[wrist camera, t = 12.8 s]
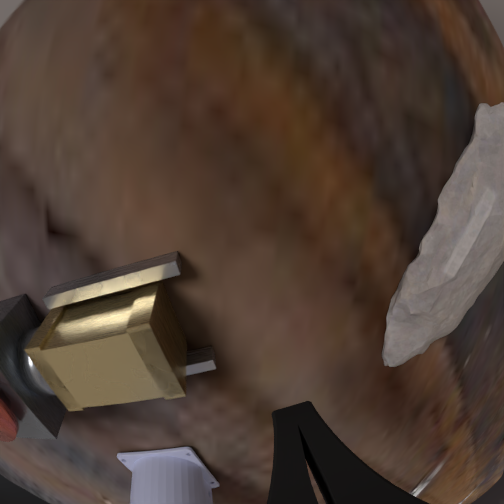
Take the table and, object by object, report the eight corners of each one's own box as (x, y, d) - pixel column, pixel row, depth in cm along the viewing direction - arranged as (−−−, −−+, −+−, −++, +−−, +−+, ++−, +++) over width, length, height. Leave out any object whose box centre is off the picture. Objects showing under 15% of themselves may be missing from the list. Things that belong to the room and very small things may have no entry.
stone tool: (568, 155, 15) (434, 398, 20) (530, 146, 19) (405, 363, 24) (522, 51, 11) (345, 369, 16) (476, 55, 15) (316, 322, 21)
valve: (215, 355, 20) (224, 441, 14) (1, 387, 19) (-27, 443, 12) (177, 249, 17) (164, 321, 11) (-45, 316, 16) (-88, 365, 9)
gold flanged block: (187, 341, 20) (185, 396, 15) (87, 361, 19) (68, 411, 15) (160, 276, 18) (148, 323, 13) (54, 304, 17) (24, 349, 13)
